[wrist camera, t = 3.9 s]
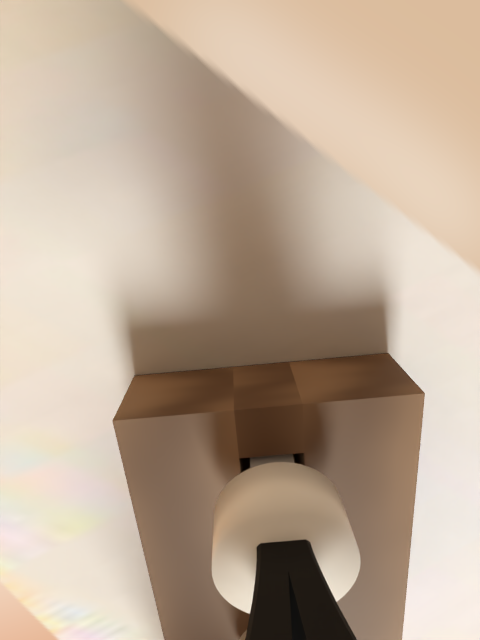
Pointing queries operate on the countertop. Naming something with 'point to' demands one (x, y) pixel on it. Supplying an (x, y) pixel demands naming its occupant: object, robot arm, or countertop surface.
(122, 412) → the block
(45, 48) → the countertop surface
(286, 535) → the knob near
